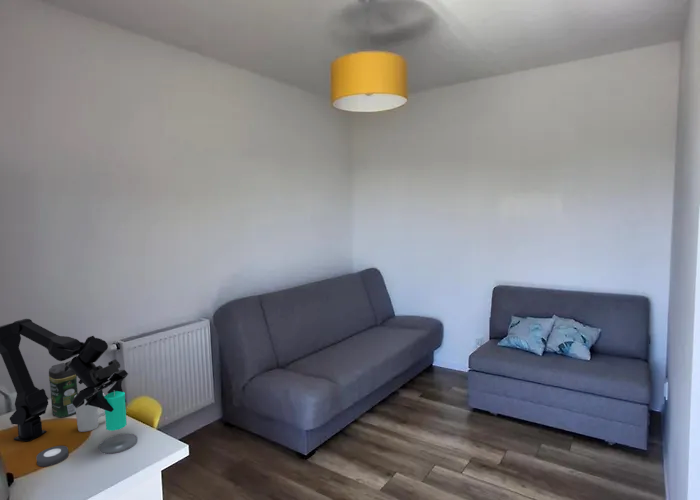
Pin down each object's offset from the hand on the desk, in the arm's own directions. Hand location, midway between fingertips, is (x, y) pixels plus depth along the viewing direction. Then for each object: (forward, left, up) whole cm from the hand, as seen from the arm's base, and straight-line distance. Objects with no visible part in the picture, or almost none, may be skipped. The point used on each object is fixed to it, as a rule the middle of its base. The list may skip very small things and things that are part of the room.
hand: (118, 406), depth 139 cm
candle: (-1, 0, -7) cm, 7 cm away
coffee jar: (-38, +16, -13) cm, 43 cm away
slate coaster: (-1, 0, -13) cm, 13 cm away
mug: (-19, +9, -13) cm, 25 cm away
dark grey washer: (-15, -11, -13) cm, 23 cm away
